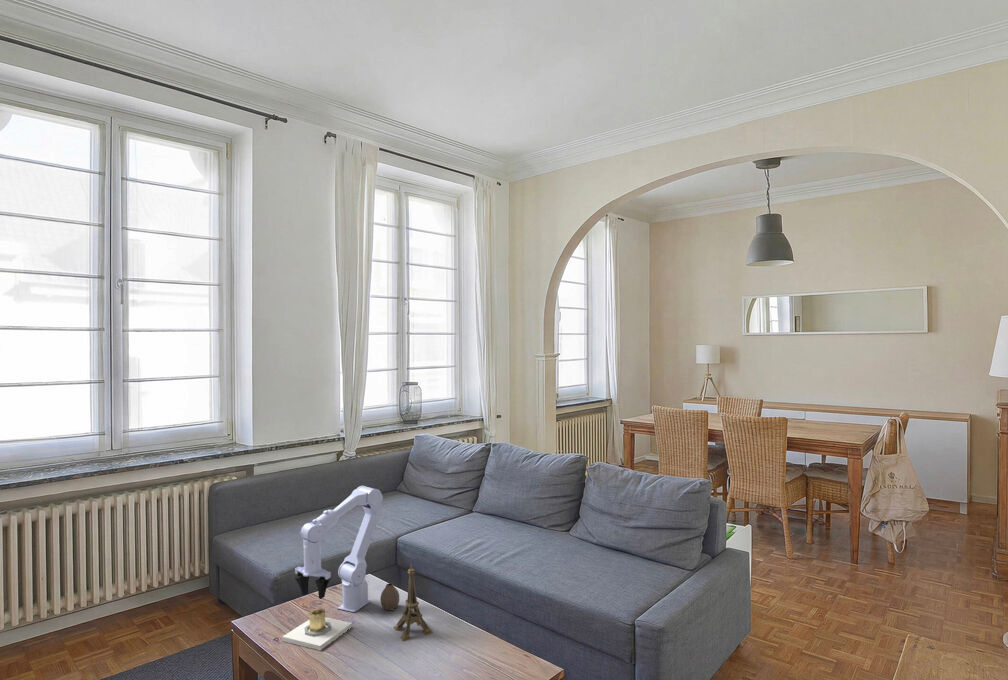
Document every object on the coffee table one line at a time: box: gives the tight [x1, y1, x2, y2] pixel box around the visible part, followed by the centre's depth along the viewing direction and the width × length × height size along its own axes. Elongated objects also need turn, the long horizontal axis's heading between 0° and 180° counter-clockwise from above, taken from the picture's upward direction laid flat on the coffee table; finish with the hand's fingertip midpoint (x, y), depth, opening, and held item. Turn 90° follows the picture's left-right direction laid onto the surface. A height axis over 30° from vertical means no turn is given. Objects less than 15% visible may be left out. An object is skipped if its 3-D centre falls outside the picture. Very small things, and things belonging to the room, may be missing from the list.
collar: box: [308, 608, 326, 633], centre depth 201 cm, size 5×5×6 cm
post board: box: [281, 616, 353, 651], centre depth 201 cm, size 16×16×6 cm
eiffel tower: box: [393, 564, 434, 642], centre depth 202 cm, size 11×11×25 cm
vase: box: [380, 582, 400, 611], centre depth 219 cm, size 7×7×9 cm
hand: (313, 596), depth 209 cm, fingers open, 7 cm apart
